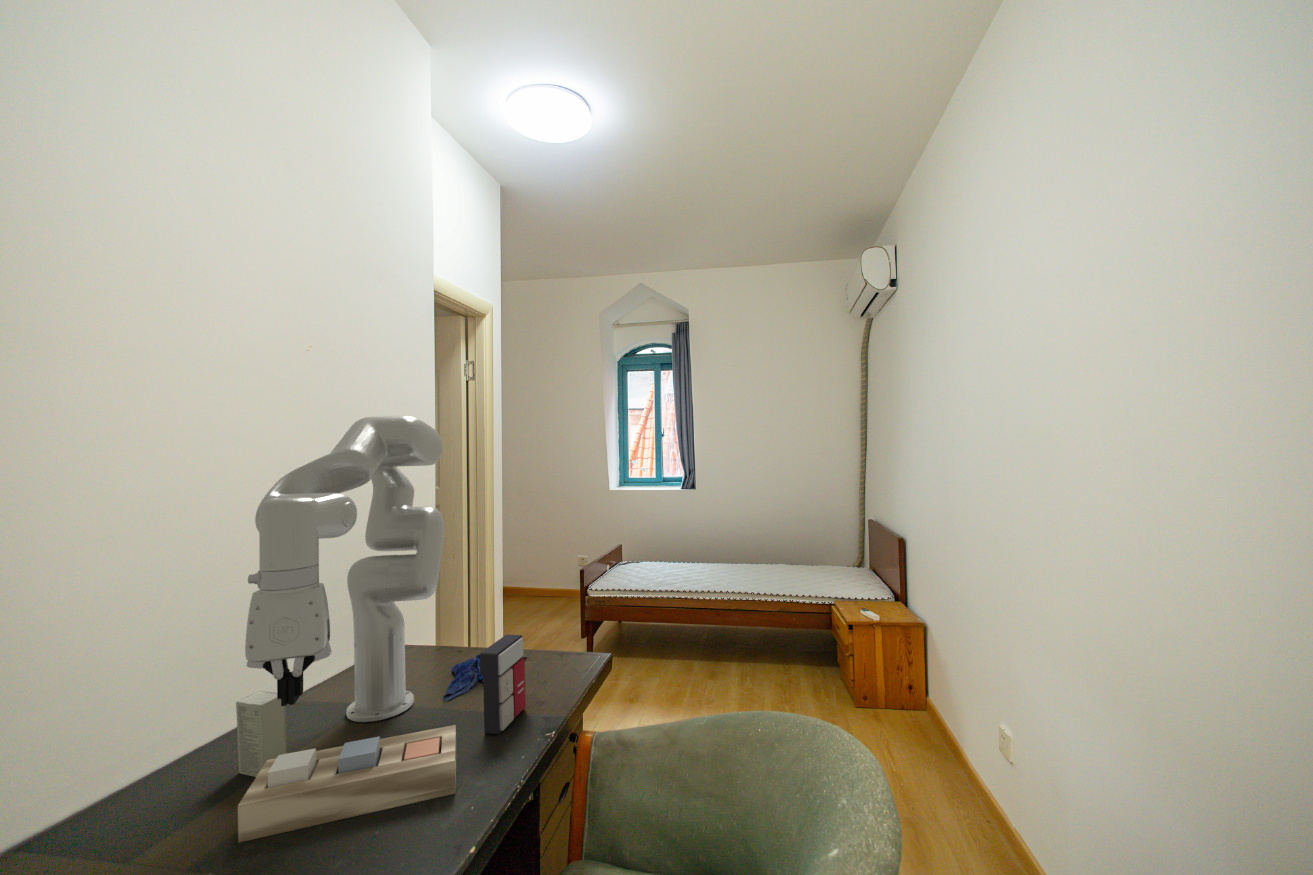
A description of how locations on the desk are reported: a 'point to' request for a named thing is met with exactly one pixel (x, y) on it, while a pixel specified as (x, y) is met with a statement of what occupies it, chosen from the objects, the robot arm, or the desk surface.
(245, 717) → the skincare box
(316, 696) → the desk surface
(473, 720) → the desk surface
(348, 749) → the slate key
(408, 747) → the terracotta key
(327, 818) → the key console
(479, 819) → the desk surface
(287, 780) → the offwhite key
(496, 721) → the calculator
